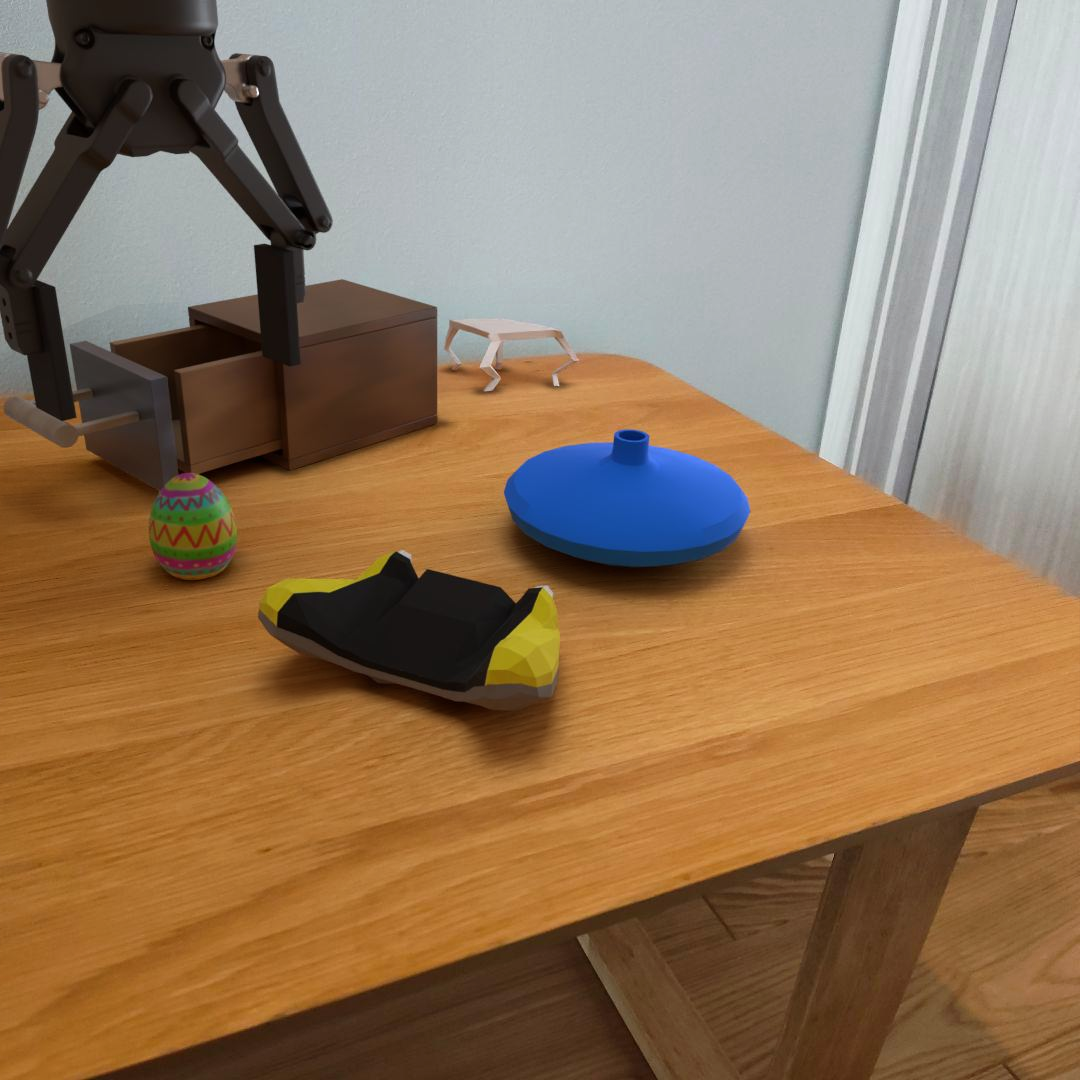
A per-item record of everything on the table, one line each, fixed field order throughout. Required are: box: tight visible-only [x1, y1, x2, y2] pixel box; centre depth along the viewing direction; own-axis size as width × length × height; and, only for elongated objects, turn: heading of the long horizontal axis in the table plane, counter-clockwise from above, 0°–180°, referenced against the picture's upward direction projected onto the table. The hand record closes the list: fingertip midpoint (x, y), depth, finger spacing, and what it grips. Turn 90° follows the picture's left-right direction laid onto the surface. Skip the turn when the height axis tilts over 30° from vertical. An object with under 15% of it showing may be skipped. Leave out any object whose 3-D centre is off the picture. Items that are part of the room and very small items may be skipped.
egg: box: [148, 472, 238, 581], centre depth 62 cm, size 5×5×6 cm
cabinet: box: [187, 278, 438, 471], centre depth 83 cm, size 15×12×10 cm
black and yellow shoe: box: [257, 549, 561, 711], centre depth 53 cm, size 15×6×10 cm
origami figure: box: [443, 317, 580, 392], centre depth 96 cm, size 12×8×5 cm
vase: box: [503, 428, 751, 568], centre depth 68 cm, size 16×16×7 cm
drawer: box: [3, 324, 282, 492], centre depth 74 cm, size 19×10×8 cm, turn 138°
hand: (177, 385), depth 58 cm, fingers open, 13 cm apart
